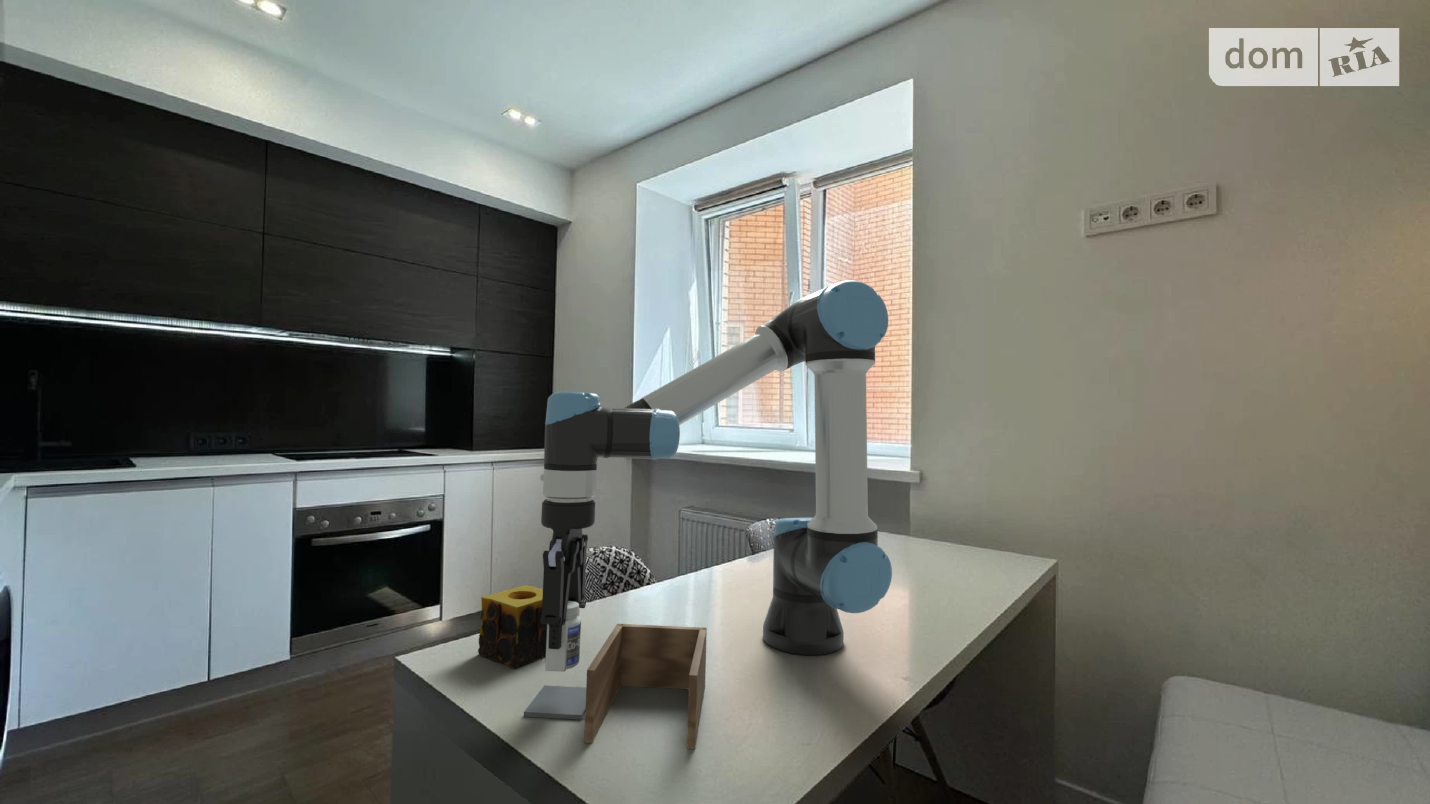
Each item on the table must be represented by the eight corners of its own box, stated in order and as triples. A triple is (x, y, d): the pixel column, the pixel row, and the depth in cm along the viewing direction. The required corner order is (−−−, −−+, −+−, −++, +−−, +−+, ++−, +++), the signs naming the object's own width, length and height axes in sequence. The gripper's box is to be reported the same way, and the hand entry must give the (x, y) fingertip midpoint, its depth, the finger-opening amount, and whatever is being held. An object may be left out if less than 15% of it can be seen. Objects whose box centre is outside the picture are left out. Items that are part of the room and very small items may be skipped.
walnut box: (705, 687, 88) (706, 627, 89) (695, 749, 71) (697, 675, 72) (615, 682, 89) (617, 623, 90) (584, 742, 72) (586, 669, 73)
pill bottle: (570, 672, 79) (572, 611, 80) (539, 668, 80) (541, 608, 81) (584, 659, 84) (587, 601, 84) (555, 655, 85) (557, 598, 85)
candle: (514, 670, 93) (517, 608, 93) (475, 655, 98) (478, 596, 99) (562, 650, 101) (564, 593, 102) (524, 637, 107) (526, 583, 107)
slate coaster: (596, 692, 86) (596, 688, 86) (581, 719, 78) (581, 714, 78) (544, 689, 86) (544, 685, 86) (523, 716, 78) (523, 711, 78)
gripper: (563, 490, 92) (556, 637, 91) (519, 505, 75) (511, 688, 74) (609, 492, 92) (603, 640, 91) (576, 508, 74) (568, 692, 73)
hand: (562, 661), depth 82 cm, fingers closed on pill bottle, 5 cm apart
